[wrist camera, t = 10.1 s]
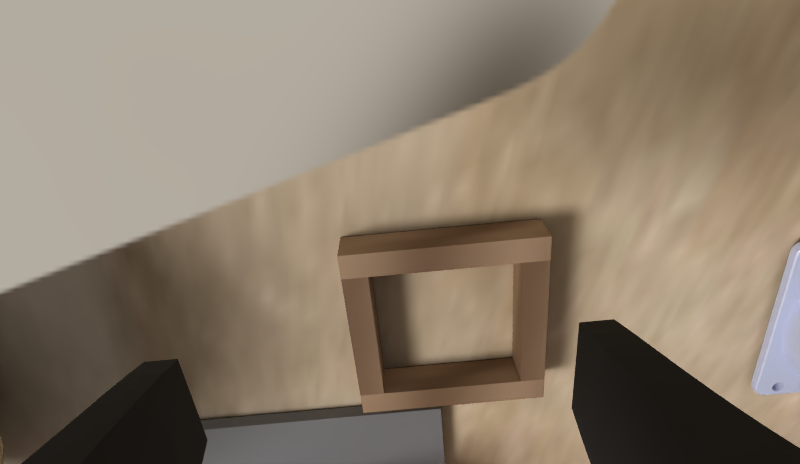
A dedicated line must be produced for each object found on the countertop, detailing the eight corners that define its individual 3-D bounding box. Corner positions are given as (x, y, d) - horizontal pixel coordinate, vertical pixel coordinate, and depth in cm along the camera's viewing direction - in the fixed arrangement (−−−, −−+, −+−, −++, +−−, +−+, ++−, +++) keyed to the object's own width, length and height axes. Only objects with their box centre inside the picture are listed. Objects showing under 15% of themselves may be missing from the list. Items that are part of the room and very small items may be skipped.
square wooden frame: (540, 218, 19) (551, 236, 18) (533, 372, 23) (543, 396, 21) (340, 237, 19) (337, 256, 18) (364, 387, 23) (363, 412, 21)
